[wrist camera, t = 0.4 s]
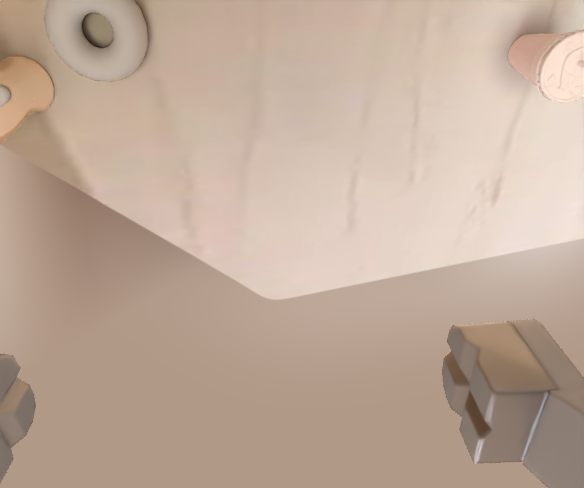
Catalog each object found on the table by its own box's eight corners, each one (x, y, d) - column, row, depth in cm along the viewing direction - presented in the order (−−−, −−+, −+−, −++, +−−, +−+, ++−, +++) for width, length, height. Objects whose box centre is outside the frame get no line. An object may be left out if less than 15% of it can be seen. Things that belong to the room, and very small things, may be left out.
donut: (42, 46, 47) (131, 95, 50) (26, 51, 44) (122, 103, 47) (70, -50, 43) (166, 10, 46) (54, -52, 40) (158, 13, 43)
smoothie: (566, 33, 49) (661, 54, 37) (530, 90, 52) (607, 126, 40) (518, 10, 47) (601, 24, 35) (484, 70, 50) (550, 101, 38)
